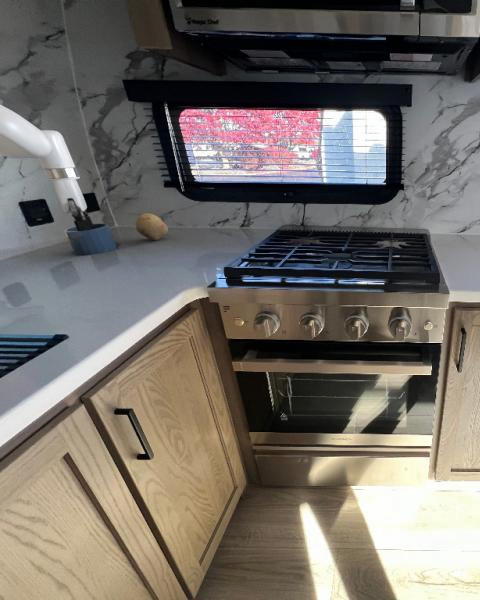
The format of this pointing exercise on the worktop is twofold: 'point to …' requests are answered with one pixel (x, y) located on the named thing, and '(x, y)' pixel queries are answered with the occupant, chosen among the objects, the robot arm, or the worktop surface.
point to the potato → (151, 226)
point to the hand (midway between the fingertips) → (86, 230)
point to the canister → (91, 240)
